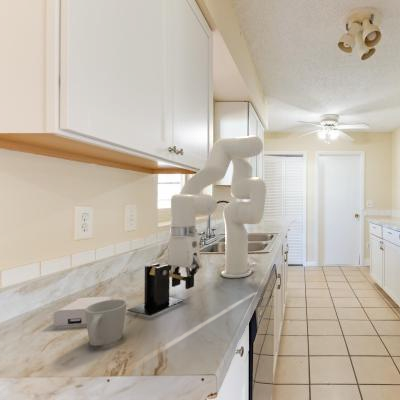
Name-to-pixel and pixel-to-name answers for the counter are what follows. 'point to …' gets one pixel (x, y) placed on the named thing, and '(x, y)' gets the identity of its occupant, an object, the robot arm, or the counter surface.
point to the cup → (105, 321)
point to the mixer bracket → (156, 291)
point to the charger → (76, 310)
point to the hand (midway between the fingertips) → (182, 286)
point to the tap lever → (170, 274)
